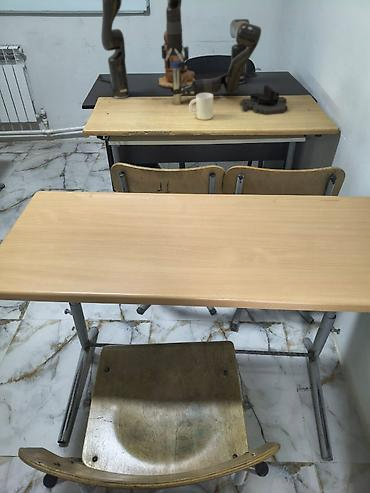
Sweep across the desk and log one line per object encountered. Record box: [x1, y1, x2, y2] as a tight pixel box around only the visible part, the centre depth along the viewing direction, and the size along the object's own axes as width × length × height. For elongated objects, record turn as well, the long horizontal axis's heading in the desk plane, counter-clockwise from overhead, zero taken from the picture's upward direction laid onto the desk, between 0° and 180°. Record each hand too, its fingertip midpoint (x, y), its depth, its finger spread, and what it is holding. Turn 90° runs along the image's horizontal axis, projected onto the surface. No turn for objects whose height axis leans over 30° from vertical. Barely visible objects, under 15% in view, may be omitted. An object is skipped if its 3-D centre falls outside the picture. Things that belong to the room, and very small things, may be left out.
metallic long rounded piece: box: [172, 68, 183, 105], centre depth 189 cm, size 4×4×19 cm
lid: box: [171, 61, 181, 68], centre depth 183 cm, size 5×5×2 cm
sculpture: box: [157, 30, 196, 89], centre depth 214 cm, size 27×24×30 cm
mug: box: [188, 93, 214, 121], centre depth 174 cm, size 12×8×10 cm
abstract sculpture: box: [240, 84, 289, 115], centre depth 183 cm, size 25×9×20 cm
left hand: (175, 68), depth 183 cm, fingers open, 7 cm apart
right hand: (172, 91), depth 190 cm, fingers closed on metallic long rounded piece, 4 cm apart
